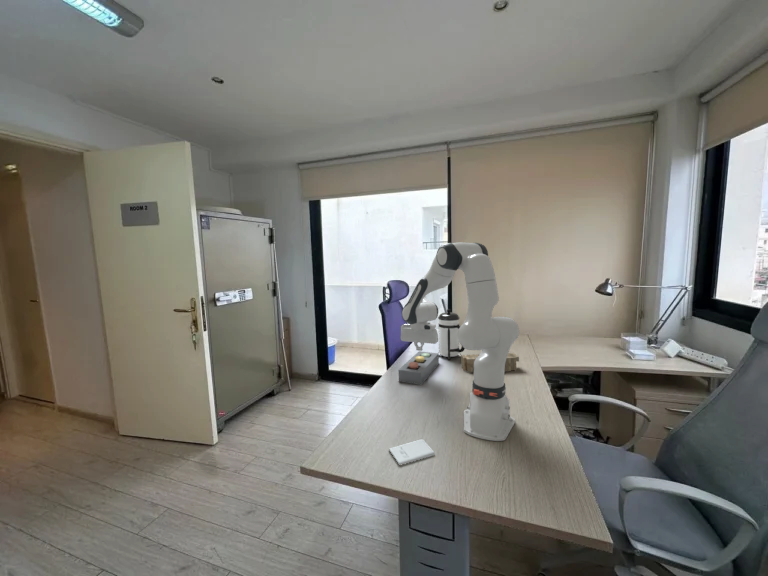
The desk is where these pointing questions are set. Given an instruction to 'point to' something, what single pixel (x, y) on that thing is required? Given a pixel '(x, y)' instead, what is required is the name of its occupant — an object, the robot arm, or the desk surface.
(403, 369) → the button panel
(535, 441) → the desk surface
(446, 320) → the coffee press
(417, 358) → the ochre button
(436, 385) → the desk surface
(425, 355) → the sage button
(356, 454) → the desk surface
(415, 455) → the external hard drive
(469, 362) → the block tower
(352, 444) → the desk surface
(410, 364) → the brick button
